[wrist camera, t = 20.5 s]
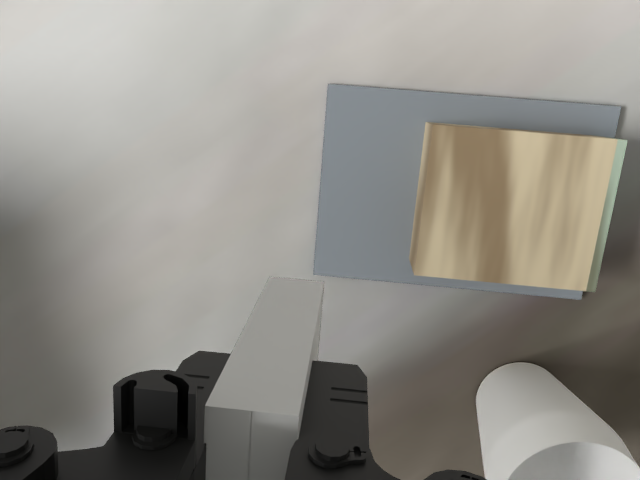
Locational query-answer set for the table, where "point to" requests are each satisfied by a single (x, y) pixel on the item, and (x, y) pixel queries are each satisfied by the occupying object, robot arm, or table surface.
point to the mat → (411, 173)
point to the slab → (514, 205)
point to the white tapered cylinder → (544, 431)
